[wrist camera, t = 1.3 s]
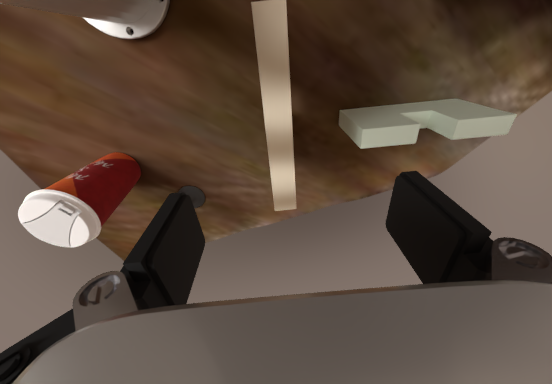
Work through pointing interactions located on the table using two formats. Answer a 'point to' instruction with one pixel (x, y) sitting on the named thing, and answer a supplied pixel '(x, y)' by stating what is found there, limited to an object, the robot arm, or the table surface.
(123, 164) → the coffee cup
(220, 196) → the table surface
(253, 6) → the maple plate
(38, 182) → the table surface
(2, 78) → the table surface
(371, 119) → the sage board
